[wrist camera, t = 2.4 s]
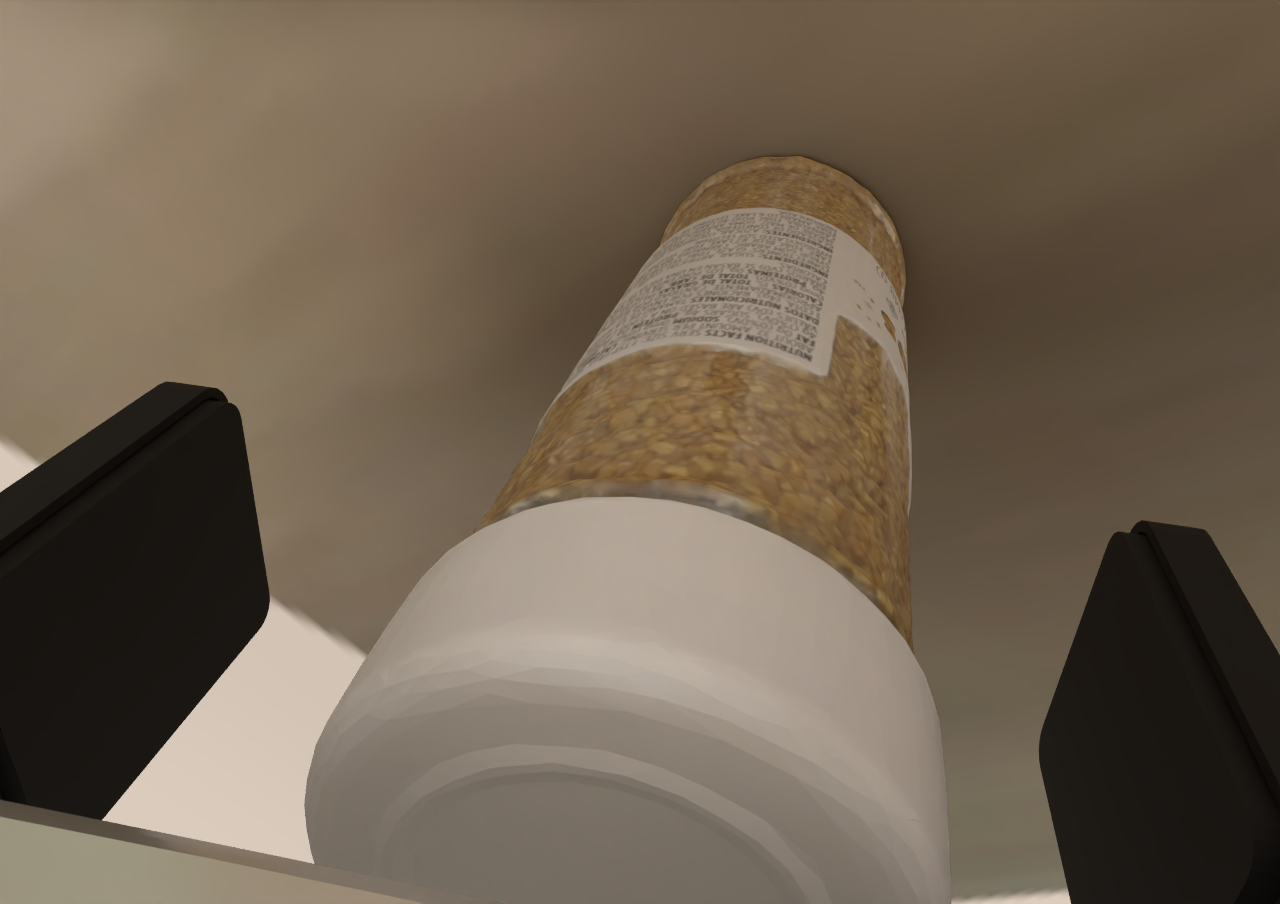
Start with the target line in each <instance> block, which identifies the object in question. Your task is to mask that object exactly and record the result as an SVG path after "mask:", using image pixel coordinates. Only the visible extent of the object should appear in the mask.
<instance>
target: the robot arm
mask: <svg viewBox="0 0 1280 904" xmlns="http://www.w3.org/2000/svg"><path fill="white" fill-rule="evenodd" d="M269 602H270V596H269V588H268V582H267V576H266V569H265V563H264V557H263V551H262V544H261V538H260V532H259V526H258V519H257V513H256V507H255V501H254V494H253V488H252V482H251V476H250V469H249V463H248V457H247V451H246V445H245V438H244V432H243V426H242V420H241V416H240V412H239V410H238V408H237V407H236V406H235V405H234V404H232V403H228V400H227V398H226V396H225V395H224V393H223V392H222V391H220V390H219V389H217V388H211V387H204V386H197V385H190V384H183V383H176V382H164V383H162V384H159V385H158V386H156V387H155V388H153V389H152V390H150V391H149V392H147V393H146V394H144V395H143V396H141V397H140V398H138V399H137V400H136V401H134V402H133V403H131V404H130V405H128V406H127V407H125V408H124V409H122V410H121V411H119V412H118V413H116V414H115V415H113V416H112V417H111V418H109V419H108V420H106V421H105V422H103V423H102V424H100V425H99V426H97V427H96V428H94V429H93V430H91V431H90V432H88V433H87V434H86V435H84V436H83V437H81V438H80V439H78V440H77V441H75V442H74V443H72V444H71V445H69V446H68V447H66V448H65V449H63V450H62V451H61V452H59V453H58V454H56V455H55V456H53V457H52V458H50V459H49V460H47V461H46V462H44V463H43V464H41V465H40V466H38V467H37V468H36V469H34V470H33V471H31V472H30V473H28V474H27V475H25V476H24V477H22V478H21V479H20V480H18V481H16V482H15V483H13V484H12V485H11V486H9V487H8V488H6V489H5V490H3V491H2V492H0V904H503V903H499V902H494V901H489V900H484V899H480V898H475V897H470V896H465V895H461V894H456V893H451V892H446V891H442V890H437V889H432V888H427V887H422V886H418V885H413V884H408V883H403V882H398V881H394V880H389V879H384V878H379V877H374V876H370V875H365V874H360V873H355V872H350V871H346V870H341V869H336V868H331V867H327V866H322V865H317V864H312V863H307V862H302V861H298V860H293V859H288V858H283V857H279V856H273V855H268V854H264V853H259V852H254V851H249V850H244V849H239V848H235V847H230V846H225V845H220V844H215V843H210V842H205V841H199V840H195V839H190V838H185V837H181V836H176V835H171V834H166V833H161V832H156V831H151V830H146V829H141V828H136V827H131V826H126V825H121V824H117V823H111V822H107V821H102V819H103V818H104V817H105V816H106V815H107V813H108V812H109V811H110V810H111V808H112V807H113V806H114V805H115V804H116V802H117V801H118V800H119V799H120V798H121V796H122V795H123V794H124V793H125V792H126V790H127V789H128V788H129V786H130V785H131V784H132V783H133V782H134V781H135V779H136V778H137V777H138V776H139V775H140V773H141V772H142V771H143V770H144V769H145V767H146V766H147V765H148V764H149V762H150V761H151V760H152V759H153V758H154V756H155V755H156V754H157V753H158V751H159V750H160V749H161V748H162V747H163V745H164V744H165V743H166V742H167V741H168V739H169V738H170V737H171V736H172V735H173V733H174V732H175V731H176V730H177V728H178V727H179V726H180V725H181V724H182V722H183V721H184V720H185V719H186V718H187V716H188V715H189V714H190V713H191V712H192V710H193V709H194V708H195V707H196V705H197V704H198V703H199V702H200V700H201V699H202V698H203V697H204V696H205V695H206V693H207V692H208V691H209V690H210V689H211V687H212V686H213V685H214V684H215V682H216V681H217V680H218V679H219V678H220V676H221V675H222V674H223V673H224V671H225V670H226V669H227V668H228V667H229V666H230V664H231V663H232V662H233V660H234V659H235V658H236V657H237V656H238V654H239V653H240V652H241V651H242V650H243V649H244V647H245V646H246V645H247V644H248V642H249V641H250V640H251V639H252V638H253V636H254V635H255V634H256V633H257V632H258V630H259V629H260V628H261V626H262V625H263V623H264V621H265V618H266V616H267V613H268V609H269ZM1039 761H1040V768H1041V772H1042V776H1043V781H1044V785H1045V790H1046V794H1047V799H1048V803H1049V807H1050V812H1051V816H1052V821H1053V825H1054V830H1055V834H1056V838H1057V843H1058V847H1059V852H1060V856H1061V860H1062V865H1063V869H1064V874H1065V878H1066V883H1067V887H1068V891H1069V896H1070V900H1071V904H1280V655H1279V653H1278V651H1277V650H1276V648H1275V646H1274V644H1273V643H1272V641H1271V639H1270V638H1269V636H1268V634H1267V632H1266V631H1265V629H1264V627H1263V626H1262V624H1261V622H1260V621H1259V619H1258V617H1257V615H1256V614H1255V612H1254V610H1253V609H1252V607H1251V605H1250V603H1249V602H1248V600H1247V598H1246V597H1245V595H1244V593H1243V591H1242V590H1241V588H1240V586H1239V585H1238V583H1237V581H1236V579H1235V578H1234V576H1233V574H1232V573H1231V571H1230V569H1229V567H1228V566H1227V564H1226V562H1225V561H1224V559H1223V557H1222V555H1221V554H1220V552H1219V550H1218V549H1217V547H1216V545H1215V544H1214V542H1213V540H1212V538H1211V537H1210V535H1209V534H1208V533H1207V532H1206V531H1205V530H1203V529H1199V528H1192V527H1185V526H1178V525H1171V524H1164V523H1157V522H1150V521H1143V520H1142V521H1140V522H1138V523H1136V525H1135V526H1134V527H1133V528H1132V530H1131V532H1130V533H1125V532H1116V533H1114V535H1113V536H1112V537H1111V539H1110V541H1109V543H1108V545H1107V548H1106V551H1105V554H1104V556H1103V559H1102V562H1101V565H1100V568H1099V570H1098V573H1097V576H1096V579H1095V582H1094V584H1093V587H1092V590H1091V593H1090V596H1089V598H1088V601H1087V604H1086V607H1085V610H1084V612H1083V615H1082V618H1081V621H1080V624H1079V626H1078V629H1077V632H1076V635H1075V638H1074V640H1073V643H1072V646H1071V649H1070V652H1069V654H1068V657H1067V660H1066V663H1065V666H1064V668H1063V671H1062V674H1061V677H1060V680H1059V682H1058V685H1057V688H1056V691H1055V694H1054V696H1053V699H1052V702H1051V705H1050V708H1049V710H1048V713H1047V716H1046V719H1045V722H1044V724H1043V728H1042V731H1041V736H1040V742H1039Z"/></svg>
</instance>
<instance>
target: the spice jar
mask: <svg viewBox="0 0 1280 904" xmlns="http://www.w3.org/2000/svg"><path fill="white" fill-rule="evenodd" d="M905 287H906V273H905V261H904V256H903V250H902V247H901V244H900V241H899V237H898V234H897V231H896V229H895V227H894V224H893V222H892V220H891V218H890V217H889V216H888V214H887V213H886V212H885V210H884V209H883V208H882V206H881V205H880V204H879V202H878V201H877V200H876V199H875V197H874V196H873V195H872V194H871V193H870V192H869V191H868V190H867V189H865V188H864V187H862V186H861V185H859V184H858V183H857V182H856V181H854V180H853V179H852V178H851V177H849V176H848V175H846V174H844V173H842V172H840V171H838V170H836V169H833V168H831V167H830V166H828V165H825V164H821V163H818V162H816V161H813V160H811V159H808V158H805V157H802V156H790V157H761V158H757V159H753V160H748V161H743V162H739V163H735V164H734V165H732V166H730V167H728V168H726V169H724V170H722V171H719V172H717V173H715V174H714V175H712V176H710V177H708V178H706V179H705V180H704V181H703V182H702V183H701V184H700V185H699V186H698V187H697V189H696V190H695V191H693V192H692V193H691V194H690V195H689V196H688V197H687V198H686V199H685V200H684V201H683V202H682V203H681V205H680V206H679V208H678V209H677V211H676V212H675V214H674V216H673V217H672V219H671V221H670V222H669V224H668V226H667V227H666V229H665V232H664V235H663V238H662V240H661V243H660V247H659V248H658V249H657V250H656V251H655V252H654V253H653V254H652V255H651V256H650V258H649V259H648V260H647V262H646V263H645V264H644V265H643V267H642V268H641V269H640V271H639V272H638V274H637V275H636V277H635V278H634V280H633V281H632V283H631V284H630V286H629V287H628V289H627V290H626V292H625V293H624V295H623V296H622V298H621V299H620V301H619V302H618V304H617V305H616V307H615V308H614V309H613V311H612V312H611V314H610V315H609V317H608V318H607V320H606V321H605V323H604V324H603V326H602V327H601V329H600V331H599V332H598V334H597V335H596V337H595V338H594V340H593V341H592V343H591V344H590V346H589V347H588V349H587V350H586V352H585V353H584V355H583V356H582V358H581V359H580V361H579V362H578V364H577V365H576V367H575V368H574V370H573V371H572V373H571V374H570V376H569V377H568V379H567V380H566V382H565V384H564V385H563V387H562V388H561V390H560V391H559V393H558V394H557V396H556V398H555V399H554V401H553V402H552V404H551V405H550V407H549V408H548V410H547V411H546V413H545V415H544V416H543V418H542V419H541V421H540V423H539V425H538V427H537V430H536V432H535V434H534V436H533V439H532V441H531V444H530V448H529V450H528V451H527V452H526V454H525V455H524V457H523V458H522V460H521V462H520V463H519V465H518V466H517V467H516V469H515V470H514V472H513V473H512V475H511V478H510V480H509V481H508V483H507V484H506V485H505V487H504V488H503V489H502V491H501V493H500V494H499V496H498V498H497V499H496V501H495V503H494V504H493V506H492V508H491V509H490V511H489V512H488V513H487V514H486V515H485V517H484V519H483V520H482V522H481V524H480V526H478V527H477V528H476V529H475V530H474V532H473V534H472V535H471V536H469V537H468V538H466V539H465V540H463V541H462V542H460V543H459V544H457V545H456V546H454V547H453V548H451V549H450V550H449V551H447V552H446V553H445V554H444V555H443V556H442V557H441V558H440V559H439V560H438V561H437V562H436V563H435V564H434V565H433V566H432V567H431V568H430V569H429V570H428V571H427V572H426V573H425V574H424V575H423V576H422V577H421V578H420V580H419V581H418V583H417V584H416V585H415V587H414V588H413V590H412V591H411V593H410V594H409V595H408V597H407V598H406V600H405V601H404V602H403V604H402V605H401V607H400V608H399V610H398V611H397V612H396V614H395V615H394V617H393V618H392V620H391V621H390V622H389V624H388V625H387V627H386V628H385V630H384V631H383V633H382V635H381V636H380V638H379V639H378V641H377V642H376V644H375V645H374V647H373V648H372V650H371V651H370V653H369V654H368V656H367V658H366V659H365V661H364V662H363V664H362V665H361V667H360V669H359V670H358V672H357V673H356V675H355V677H354V678H353V680H352V682H351V683H350V685H349V687H348V688H347V690H346V691H345V693H344V695H343V696H342V698H341V700H340V701H339V703H338V705H337V706H336V708H335V710H334V711H333V713H332V715H331V716H330V718H329V720H328V722H327V723H326V725H325V728H324V730H323V732H322V734H321V736H320V738H319V740H318V742H317V744H316V747H315V751H314V755H313V759H312V763H311V767H310V770H309V775H308V778H307V785H306V795H305V816H306V825H307V833H308V838H309V843H310V848H311V853H312V856H313V860H314V862H315V864H317V865H322V866H327V867H331V868H336V869H341V870H346V871H350V872H355V873H360V874H365V875H370V876H374V877H379V878H384V879H389V880H394V881H398V882H403V883H408V884H413V885H418V886H422V887H427V888H432V889H437V890H442V891H446V892H451V893H456V894H461V895H465V896H470V897H475V898H480V899H484V900H489V901H494V902H499V903H503V904H951V875H950V852H949V830H948V810H947V796H946V782H945V770H944V759H943V748H942V740H941V732H940V723H939V718H938V714H937V711H936V708H935V704H934V701H933V698H932V694H931V691H930V689H929V686H928V683H927V680H926V677H925V674H924V673H923V671H922V669H921V667H920V666H919V664H918V662H917V660H916V658H915V657H914V652H913V641H912V630H911V626H912V611H911V592H910V581H911V580H910V554H909V546H910V536H909V522H908V517H909V511H910V504H911V484H912V444H911V430H910V409H909V386H908V362H907V344H906V329H905V322H904V316H903V312H902V307H903V304H904V296H905Z"/></svg>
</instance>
